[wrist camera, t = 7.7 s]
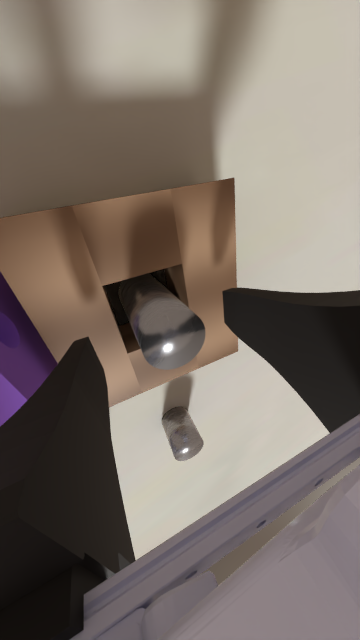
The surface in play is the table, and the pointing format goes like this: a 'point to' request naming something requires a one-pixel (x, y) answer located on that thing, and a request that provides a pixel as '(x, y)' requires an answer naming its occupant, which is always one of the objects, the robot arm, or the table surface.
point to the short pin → (181, 433)
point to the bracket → (19, 354)
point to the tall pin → (161, 322)
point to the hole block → (124, 273)
